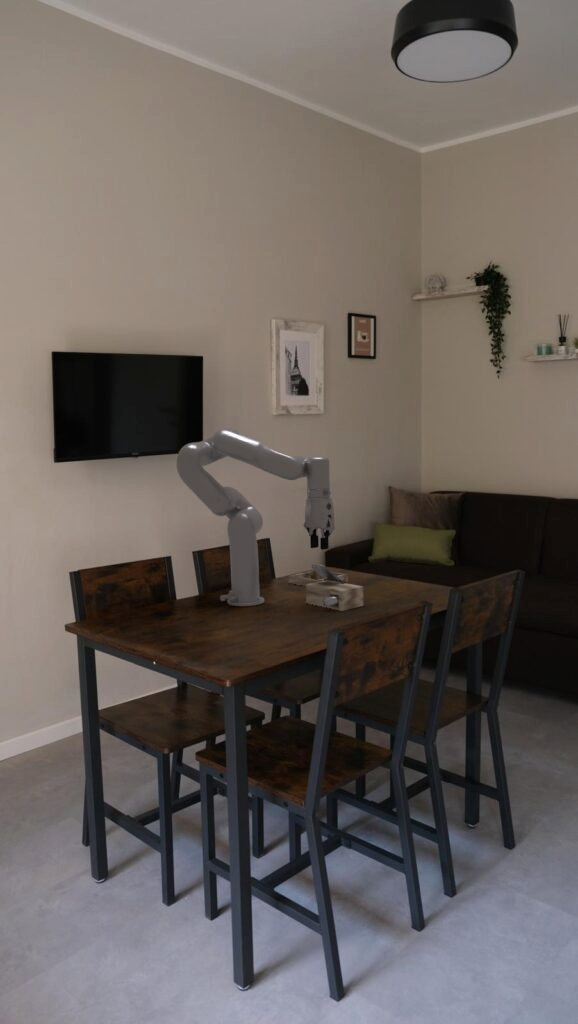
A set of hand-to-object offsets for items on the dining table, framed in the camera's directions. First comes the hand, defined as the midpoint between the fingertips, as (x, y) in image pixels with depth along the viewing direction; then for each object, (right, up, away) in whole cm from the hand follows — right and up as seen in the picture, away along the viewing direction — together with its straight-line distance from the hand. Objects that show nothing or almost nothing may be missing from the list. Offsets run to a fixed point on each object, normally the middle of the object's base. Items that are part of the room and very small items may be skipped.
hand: (319, 547), depth 278 cm
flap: (+2, -9, +3) cm, 10 cm away
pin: (+7, -19, -4) cm, 20 cm away
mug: (+4, -15, +39) cm, 42 cm away
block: (+5, -19, +1) cm, 20 cm away
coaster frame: (+1, -15, +38) cm, 41 cm away
